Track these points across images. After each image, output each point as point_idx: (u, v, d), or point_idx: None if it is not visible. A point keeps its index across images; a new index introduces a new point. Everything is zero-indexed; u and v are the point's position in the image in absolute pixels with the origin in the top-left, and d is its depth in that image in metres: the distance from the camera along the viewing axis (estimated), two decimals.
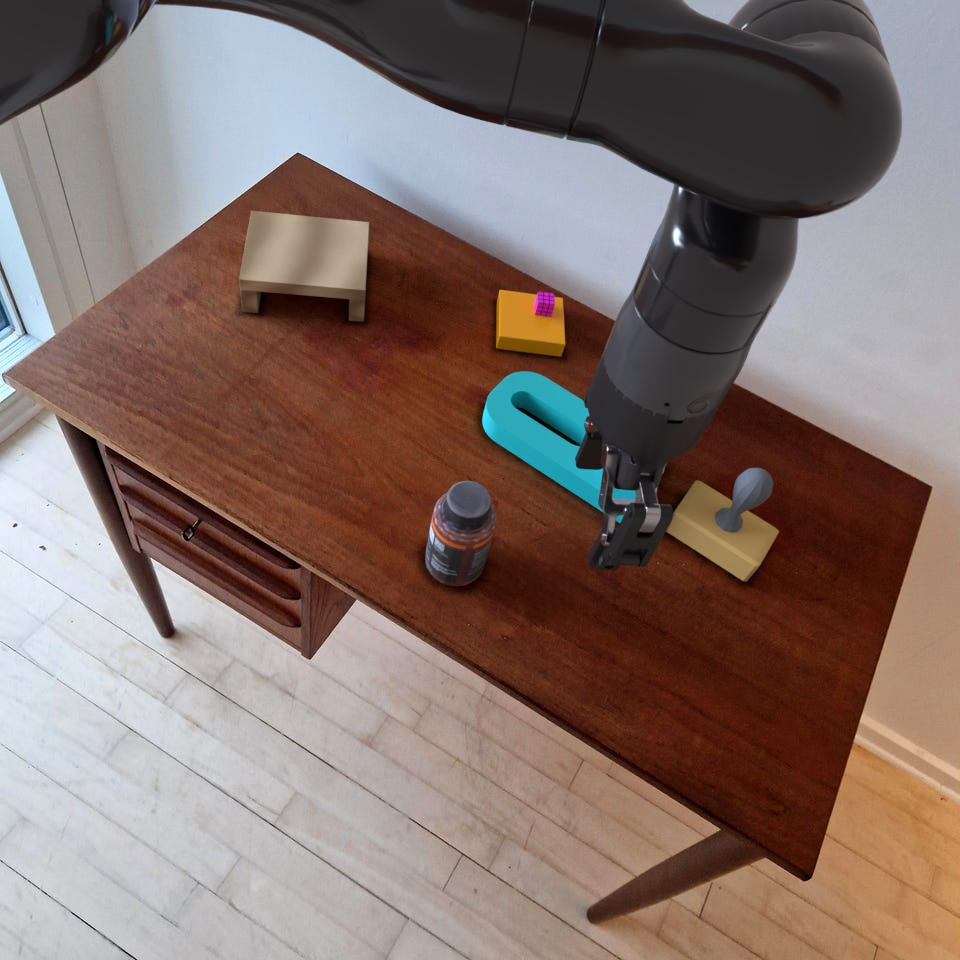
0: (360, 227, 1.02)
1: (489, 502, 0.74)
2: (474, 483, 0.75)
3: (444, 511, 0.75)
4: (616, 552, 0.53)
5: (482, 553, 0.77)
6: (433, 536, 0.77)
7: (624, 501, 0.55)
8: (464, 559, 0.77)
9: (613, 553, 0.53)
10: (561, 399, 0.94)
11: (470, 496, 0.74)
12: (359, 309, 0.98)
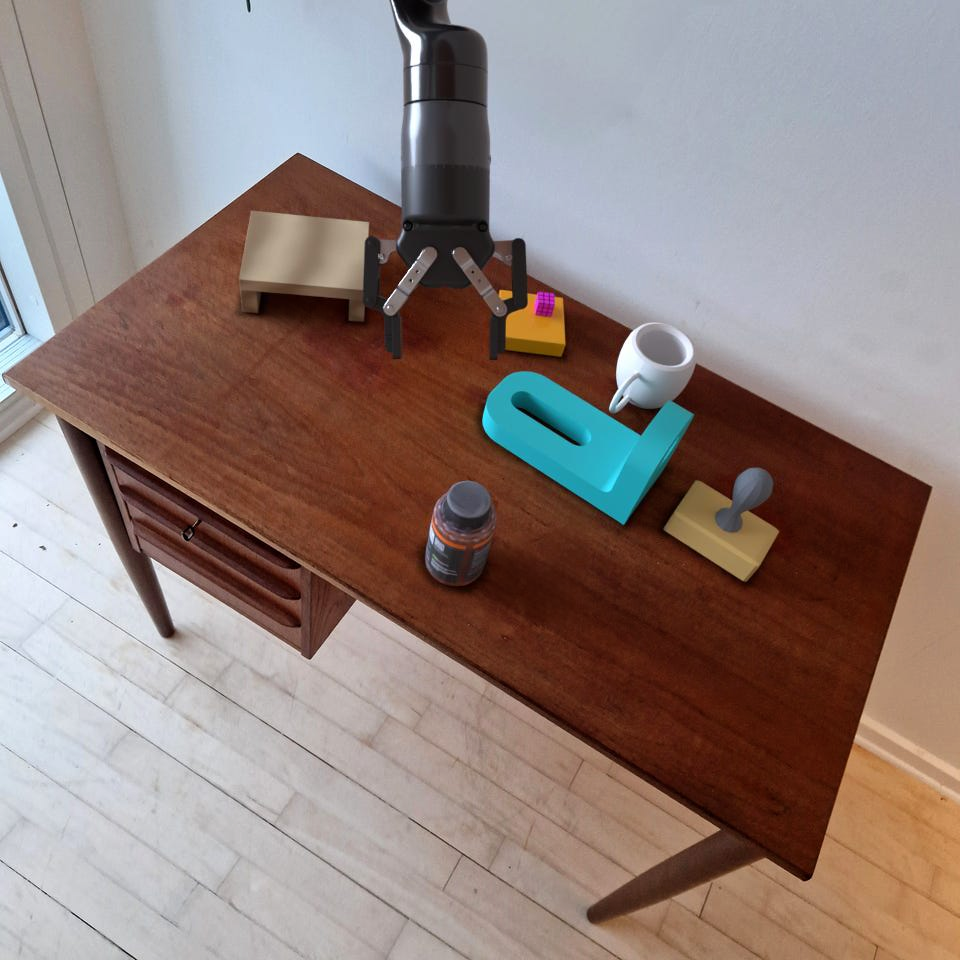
0: (360, 227, 1.02)
1: (489, 502, 0.74)
2: (474, 483, 0.75)
3: (444, 511, 0.75)
4: None
5: (482, 553, 0.77)
6: (433, 536, 0.77)
7: None
8: (464, 559, 0.77)
9: (524, 293, 0.72)
10: (562, 399, 0.94)
11: (470, 496, 0.74)
12: (359, 309, 0.98)
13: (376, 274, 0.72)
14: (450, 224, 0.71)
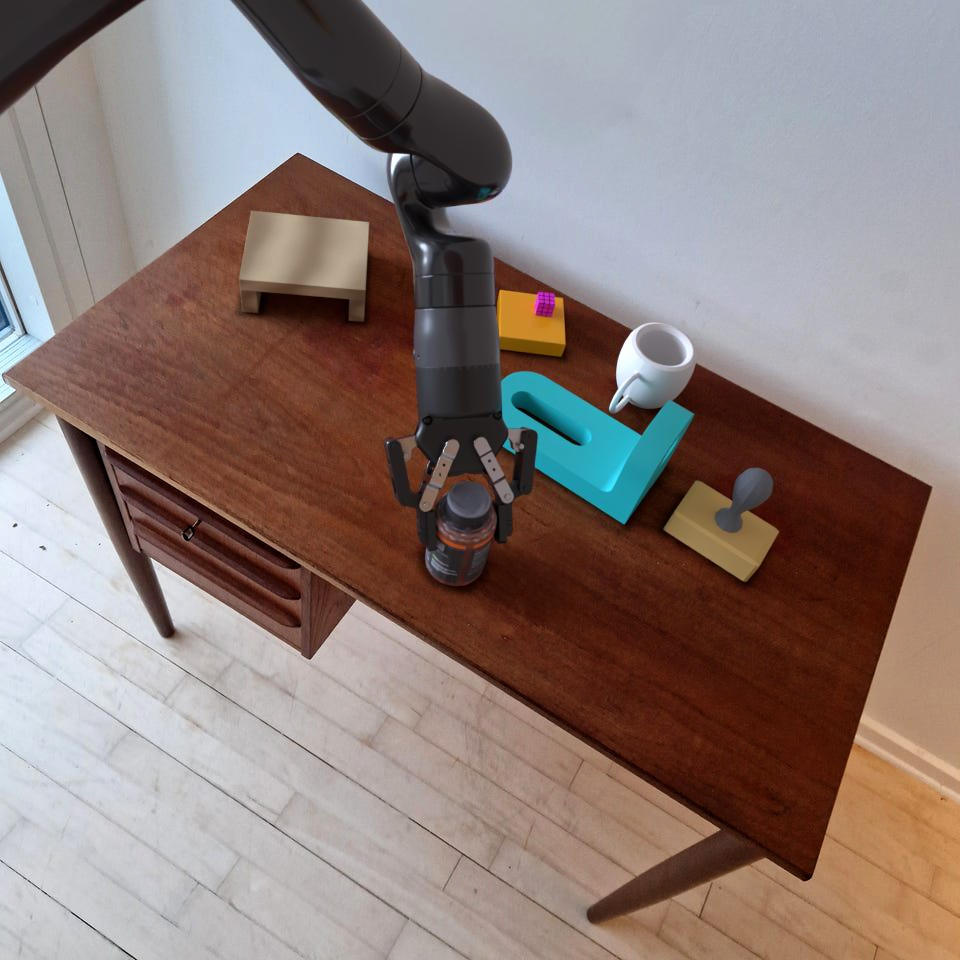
0: (360, 227, 1.02)
1: (489, 502, 0.74)
2: (474, 483, 0.75)
3: (444, 511, 0.75)
4: (533, 474, 0.76)
5: (482, 553, 0.77)
6: None
7: None
8: (464, 559, 0.77)
9: (528, 479, 0.76)
10: (562, 399, 0.94)
11: (470, 496, 0.74)
12: (359, 309, 0.98)
13: (406, 474, 0.73)
14: None
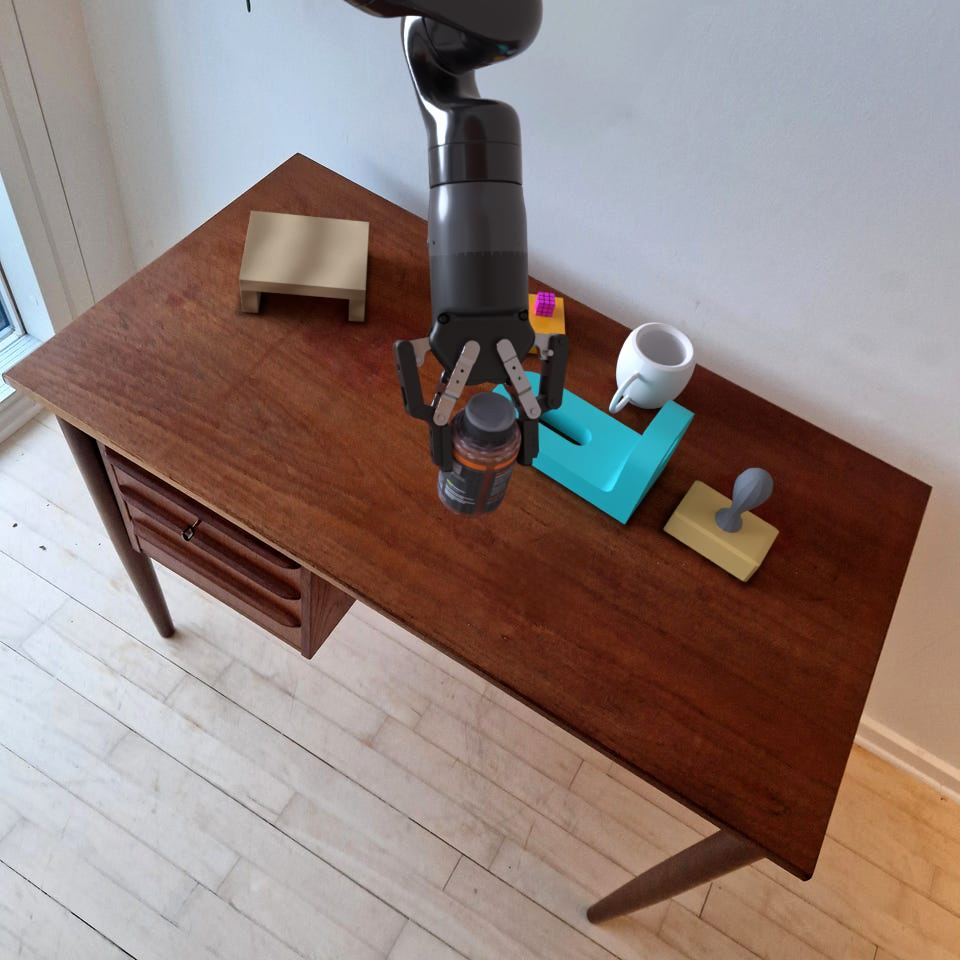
0: (360, 227, 1.02)
1: (514, 415, 0.64)
2: (496, 394, 0.65)
3: (462, 426, 0.65)
4: (563, 386, 0.67)
5: (504, 477, 0.68)
6: None
7: None
8: (483, 483, 0.67)
9: (557, 391, 0.66)
10: (562, 399, 0.94)
11: (492, 408, 0.64)
12: (359, 309, 0.98)
13: (418, 380, 0.63)
14: (491, 314, 0.64)
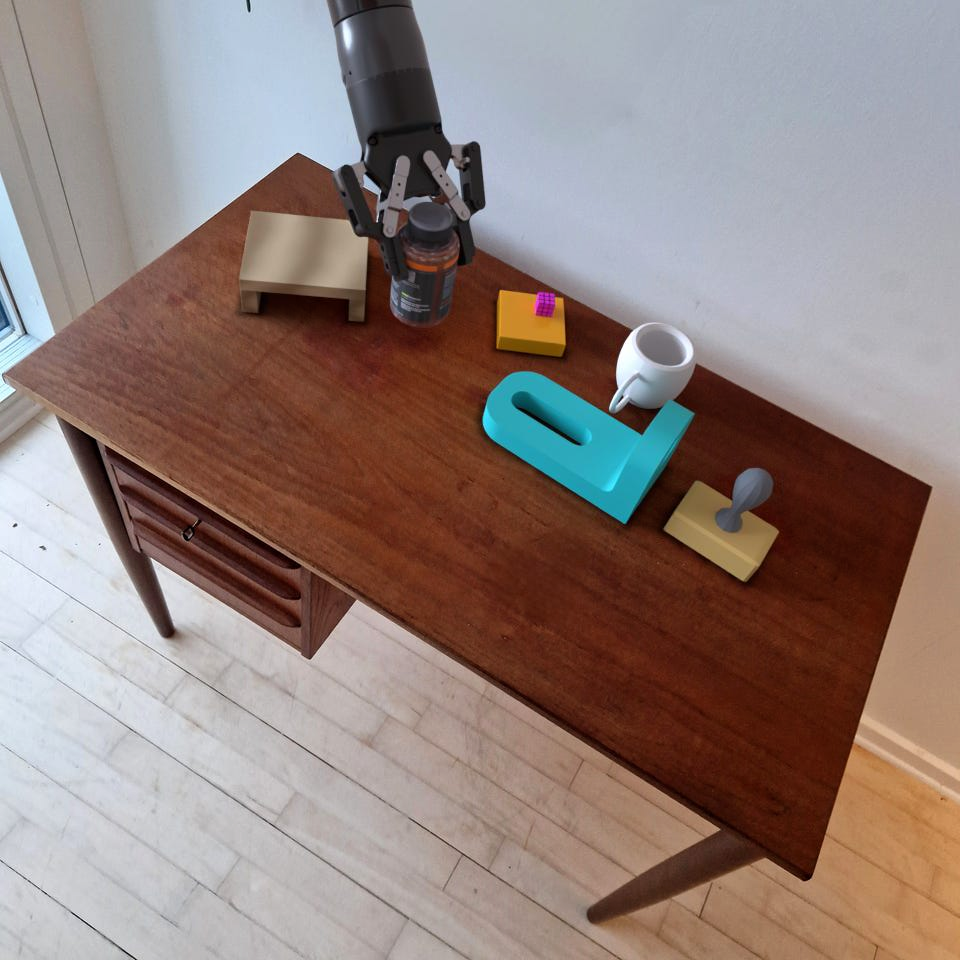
0: None
1: (451, 216, 0.74)
2: (430, 203, 0.75)
3: (408, 235, 0.74)
4: None
5: (451, 278, 0.78)
6: None
7: None
8: (435, 286, 0.77)
9: (480, 193, 0.77)
10: (562, 399, 0.94)
11: (431, 213, 0.74)
12: (359, 309, 0.98)
13: (364, 199, 0.72)
14: (412, 131, 0.73)
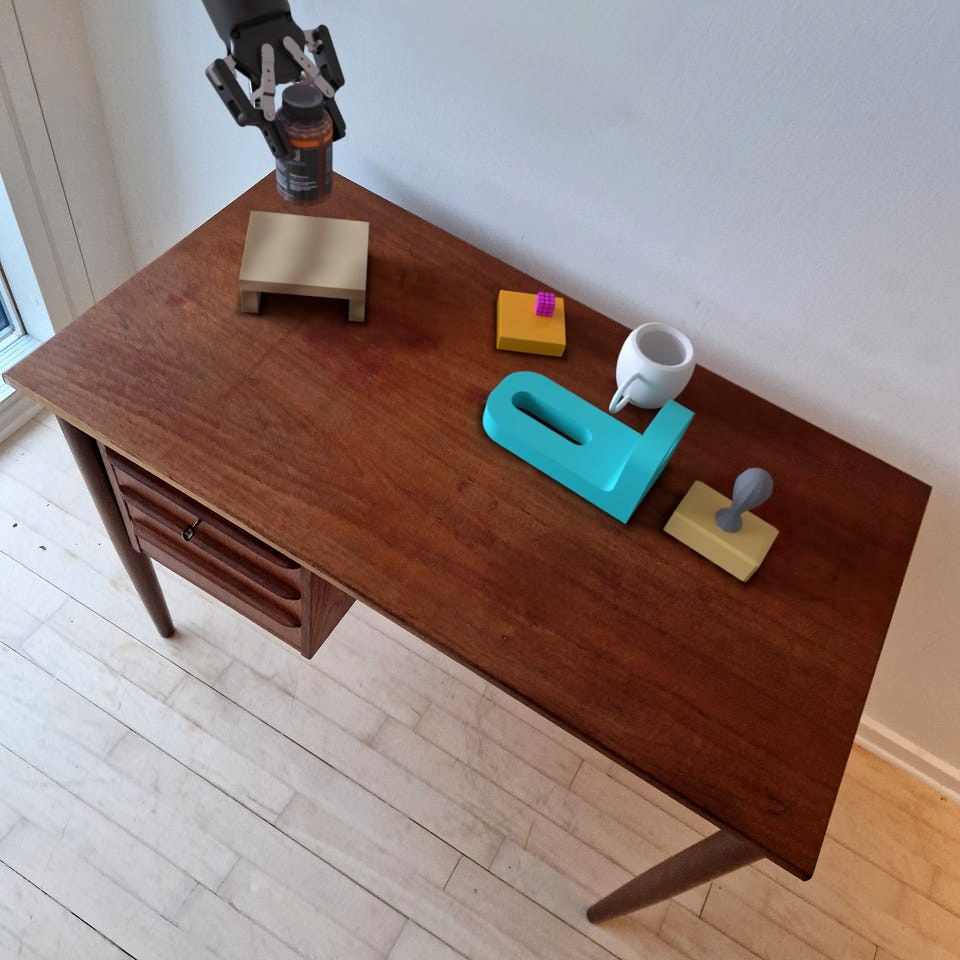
0: (360, 227, 1.02)
1: (320, 92, 0.83)
2: (298, 85, 0.83)
3: (286, 117, 0.83)
4: None
5: (330, 153, 0.87)
6: None
7: (305, 75, 0.85)
8: (319, 161, 0.86)
9: (338, 71, 0.86)
10: (562, 398, 0.94)
11: (302, 93, 0.83)
12: (359, 309, 0.98)
13: (241, 88, 0.80)
14: (267, 20, 0.81)
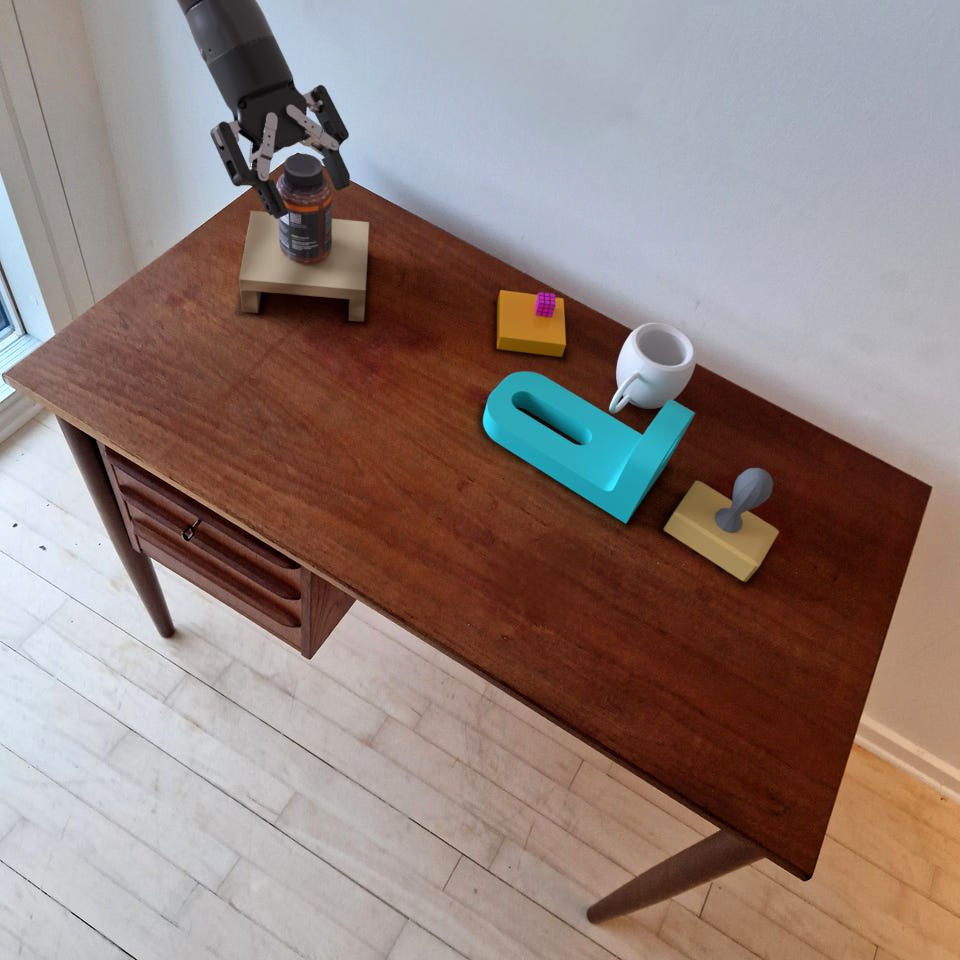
0: (360, 227, 1.02)
1: (319, 161, 0.90)
2: (299, 154, 0.90)
3: (288, 185, 0.89)
4: (341, 120, 0.92)
5: (329, 215, 0.93)
6: (287, 214, 0.91)
7: (309, 134, 0.91)
8: (319, 223, 0.92)
9: (342, 125, 0.92)
10: (562, 398, 0.94)
11: (303, 162, 0.89)
12: (359, 309, 0.98)
13: (240, 151, 0.85)
14: (272, 90, 0.87)
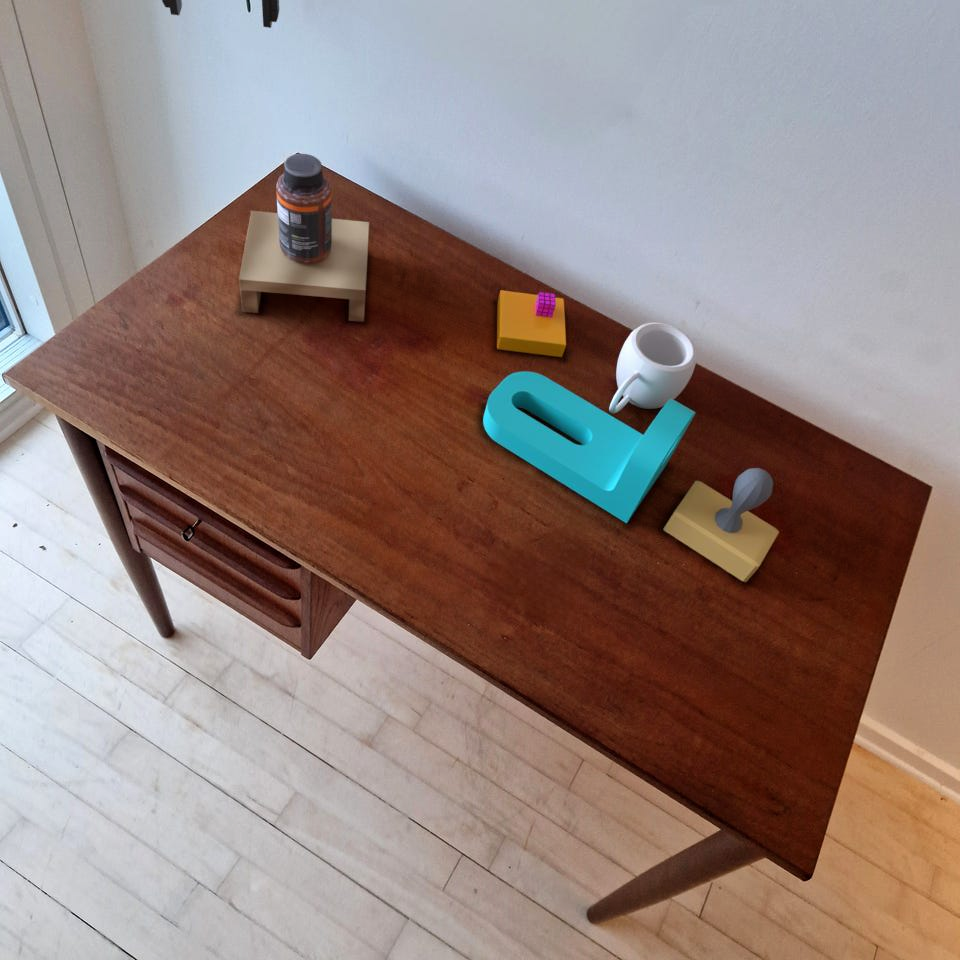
0: (360, 227, 1.02)
1: (319, 161, 0.90)
2: (299, 154, 0.90)
3: (288, 185, 0.89)
4: None
5: (329, 215, 0.93)
6: (287, 214, 0.91)
7: None
8: (319, 223, 0.92)
9: None
10: (562, 398, 0.94)
11: (303, 162, 0.89)
12: (359, 309, 0.98)
13: None
14: None
